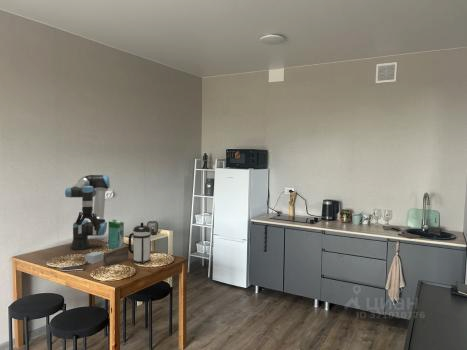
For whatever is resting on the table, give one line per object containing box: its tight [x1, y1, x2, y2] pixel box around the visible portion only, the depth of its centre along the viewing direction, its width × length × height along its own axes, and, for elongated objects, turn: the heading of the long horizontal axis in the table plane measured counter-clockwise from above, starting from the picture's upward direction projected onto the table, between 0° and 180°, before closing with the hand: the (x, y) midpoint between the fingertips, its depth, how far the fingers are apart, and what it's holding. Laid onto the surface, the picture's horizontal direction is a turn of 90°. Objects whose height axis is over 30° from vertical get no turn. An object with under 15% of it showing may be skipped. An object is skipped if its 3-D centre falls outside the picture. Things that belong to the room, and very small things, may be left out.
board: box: [102, 245, 129, 267], centre depth 262 cm, size 4×22×10 cm, turn 156°
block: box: [84, 251, 103, 265], centre depth 264 cm, size 8×10×6 cm
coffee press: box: [128, 222, 152, 264], centre depth 265 cm, size 17×16×30 cm
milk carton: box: [107, 219, 125, 249], centre depth 295 cm, size 9×9×25 cm
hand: (87, 234), depth 266 cm, fingers open, 13 cm apart
